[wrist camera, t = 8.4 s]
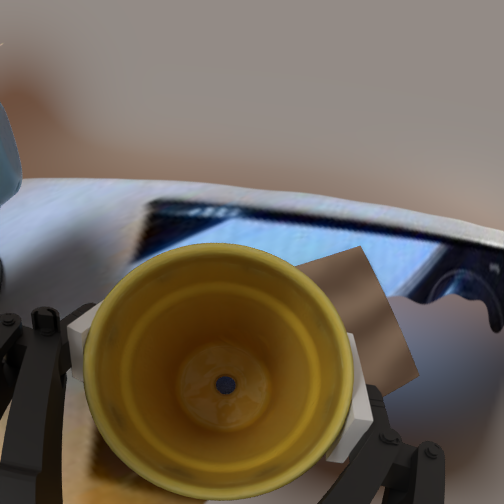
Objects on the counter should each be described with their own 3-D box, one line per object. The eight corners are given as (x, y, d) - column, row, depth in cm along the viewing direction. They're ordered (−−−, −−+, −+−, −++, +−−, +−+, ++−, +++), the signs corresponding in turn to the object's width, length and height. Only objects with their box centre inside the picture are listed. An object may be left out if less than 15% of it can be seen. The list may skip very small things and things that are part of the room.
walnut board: (222, 291, 35) (222, 288, 34) (357, 250, 39) (360, 245, 38) (276, 442, 28) (277, 443, 27) (414, 376, 31) (419, 375, 30)
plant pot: (249, 286, 22) (258, 201, 14) (332, 405, 18) (405, 398, 10) (122, 355, 19) (48, 309, 11) (198, 485, 15) (168, 542, 7)
